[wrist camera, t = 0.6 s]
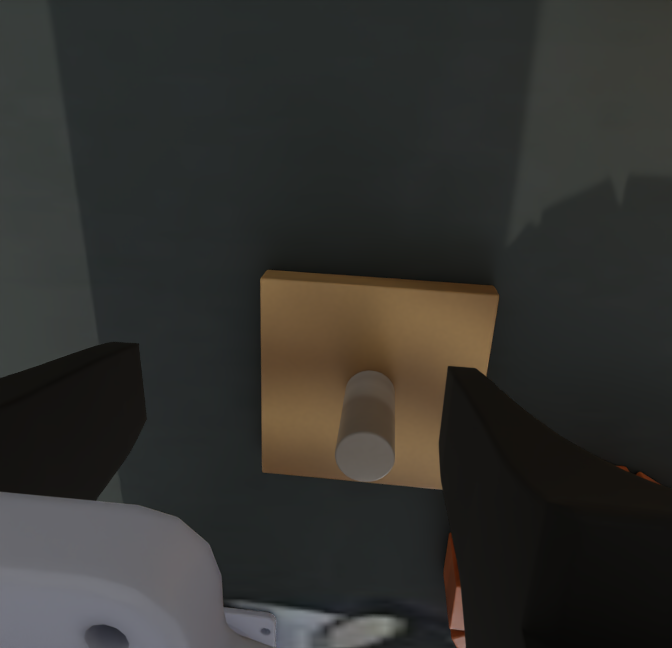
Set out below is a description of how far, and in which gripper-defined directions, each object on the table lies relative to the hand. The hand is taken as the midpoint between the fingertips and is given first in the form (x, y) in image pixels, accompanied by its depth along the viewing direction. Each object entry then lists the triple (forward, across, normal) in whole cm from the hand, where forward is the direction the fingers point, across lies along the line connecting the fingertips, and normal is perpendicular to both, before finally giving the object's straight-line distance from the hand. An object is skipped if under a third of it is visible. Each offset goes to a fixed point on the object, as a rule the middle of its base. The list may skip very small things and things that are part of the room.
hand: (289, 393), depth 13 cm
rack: (+10, -2, +5) cm, 11 cm away
